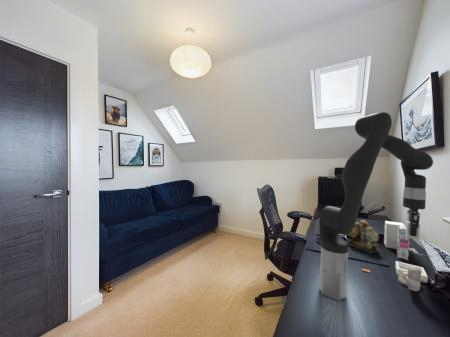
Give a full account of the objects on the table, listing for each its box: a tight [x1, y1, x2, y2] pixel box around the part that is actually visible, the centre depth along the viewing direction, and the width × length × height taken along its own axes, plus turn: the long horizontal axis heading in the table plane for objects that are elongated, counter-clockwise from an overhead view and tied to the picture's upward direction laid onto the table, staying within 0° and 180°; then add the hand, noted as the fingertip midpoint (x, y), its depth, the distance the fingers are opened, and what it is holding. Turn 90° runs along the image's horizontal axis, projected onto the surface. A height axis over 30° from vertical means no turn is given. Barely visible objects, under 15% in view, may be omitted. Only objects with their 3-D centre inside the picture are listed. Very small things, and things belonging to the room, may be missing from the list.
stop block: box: [405, 220, 421, 241], centre depth 92 cm, size 4×4×7 cm
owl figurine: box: [346, 219, 381, 254], centre depth 121 cm, size 18×12×17 cm, turn 34°
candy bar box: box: [396, 224, 411, 261], centre depth 112 cm, size 11×5×16 cm, turn 141°
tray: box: [394, 260, 429, 284], centre depth 92 cm, size 10×10×3 cm
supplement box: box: [383, 220, 406, 250], centre depth 125 cm, size 9×9×15 cm
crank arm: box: [401, 267, 421, 293], centre depth 81 cm, size 15×5×8 cm, turn 143°
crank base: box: [361, 268, 422, 287], centre depth 89 cm, size 20×7×2 cm, turn 53°
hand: (412, 234), depth 92 cm, fingers closed on stop block, 4 cm apart
